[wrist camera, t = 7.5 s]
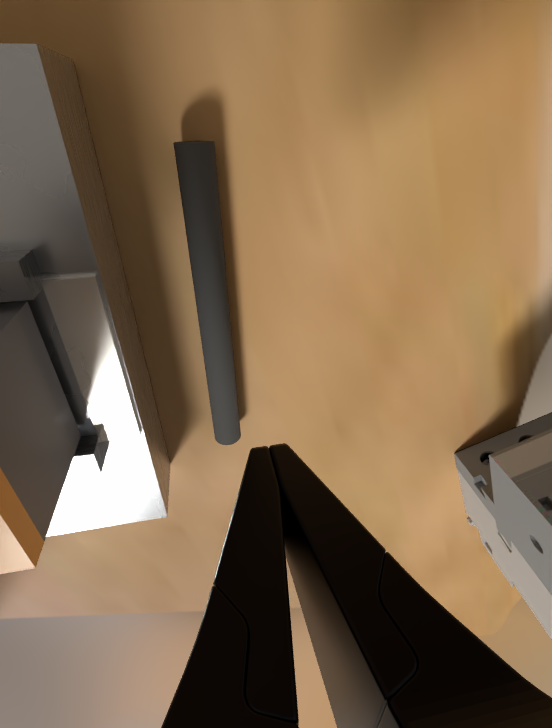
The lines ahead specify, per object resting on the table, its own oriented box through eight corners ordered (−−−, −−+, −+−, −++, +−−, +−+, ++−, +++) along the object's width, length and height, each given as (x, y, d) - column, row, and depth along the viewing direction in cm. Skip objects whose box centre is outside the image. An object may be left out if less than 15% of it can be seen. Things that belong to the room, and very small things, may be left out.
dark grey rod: (239, 425, 19) (241, 443, 18) (214, 428, 19) (215, 446, 18) (213, 140, 12) (215, 142, 11) (174, 141, 12) (172, 144, 11)
